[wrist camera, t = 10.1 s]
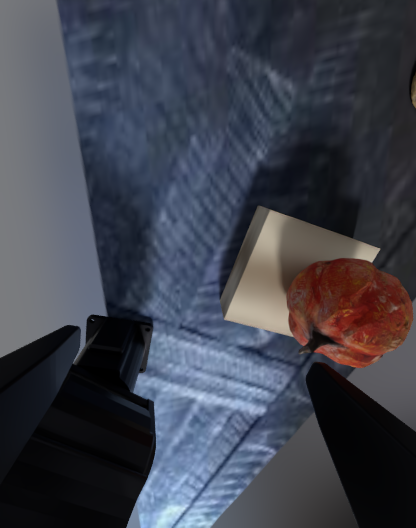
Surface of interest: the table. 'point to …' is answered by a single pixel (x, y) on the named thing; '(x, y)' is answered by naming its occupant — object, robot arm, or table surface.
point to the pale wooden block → (279, 267)
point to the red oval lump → (348, 311)
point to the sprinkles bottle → (414, 91)
